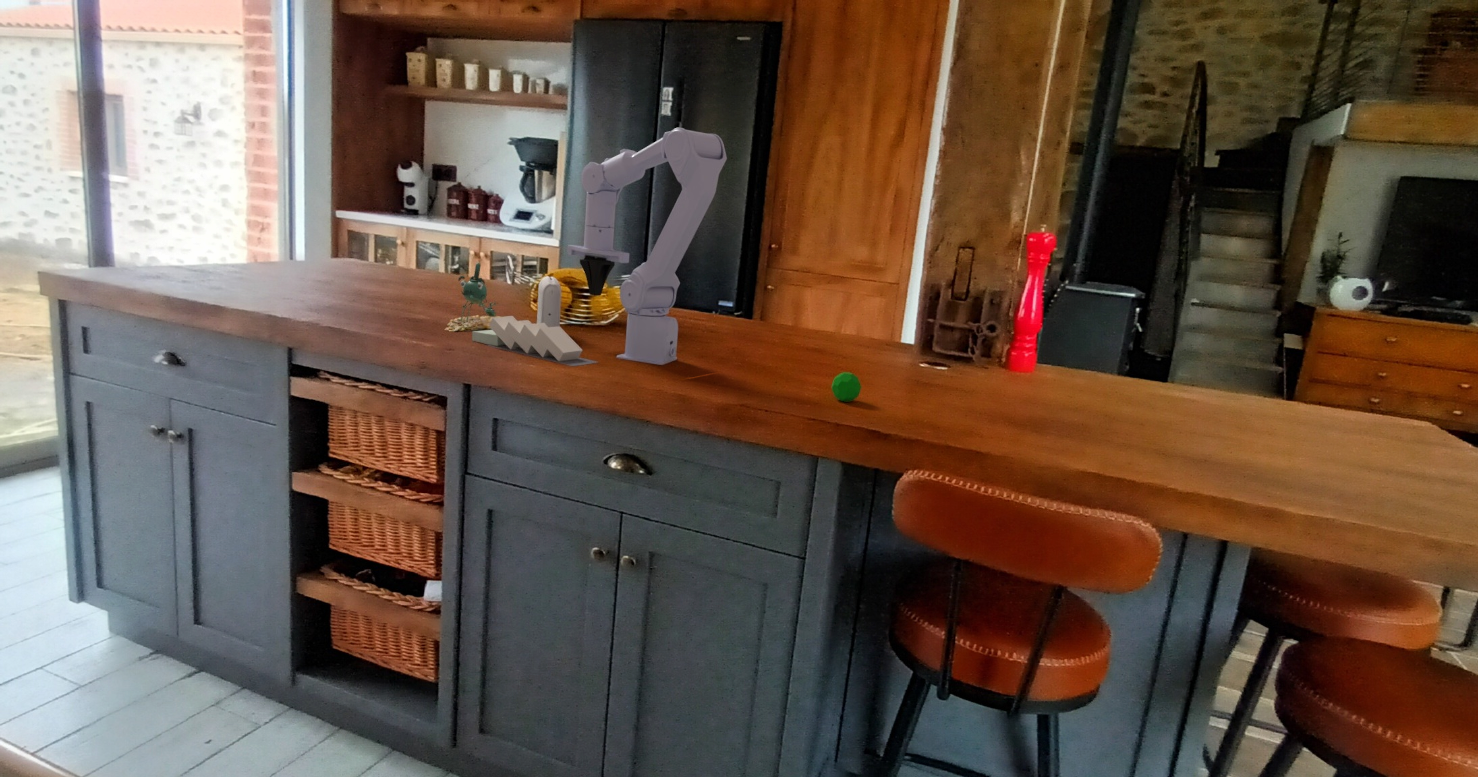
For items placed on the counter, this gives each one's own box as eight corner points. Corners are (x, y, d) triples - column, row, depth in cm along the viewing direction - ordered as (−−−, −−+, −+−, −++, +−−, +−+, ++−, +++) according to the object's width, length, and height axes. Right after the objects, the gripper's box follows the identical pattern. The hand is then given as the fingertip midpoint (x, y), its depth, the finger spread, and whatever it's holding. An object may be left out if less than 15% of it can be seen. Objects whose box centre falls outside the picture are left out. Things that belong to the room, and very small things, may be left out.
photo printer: (560, 340, 179) (563, 280, 177) (539, 339, 178) (542, 278, 175) (555, 331, 189) (558, 274, 186) (535, 330, 187) (537, 273, 185)
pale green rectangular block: (517, 333, 168) (492, 329, 172) (497, 335, 164) (472, 331, 168) (517, 343, 168) (492, 339, 172) (497, 345, 164) (472, 341, 168)
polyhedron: (836, 403, 146) (839, 375, 145) (825, 396, 150) (829, 369, 149) (863, 404, 147) (867, 377, 146) (852, 397, 152) (856, 370, 151)
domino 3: (566, 346, 162) (544, 322, 164) (547, 349, 157) (524, 324, 160) (562, 354, 162) (539, 331, 165) (542, 357, 158) (519, 332, 161)
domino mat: (599, 363, 159) (599, 362, 159) (572, 367, 153) (572, 366, 153) (514, 343, 170) (514, 342, 170) (486, 346, 164) (486, 345, 164)
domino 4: (582, 350, 159) (559, 326, 162) (563, 352, 155) (539, 328, 158) (578, 358, 160) (555, 334, 163) (558, 361, 156) (535, 336, 158)
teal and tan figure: (523, 327, 191) (522, 260, 186) (465, 345, 175) (462, 272, 171) (489, 320, 195) (487, 254, 190) (429, 337, 179) (425, 266, 175)
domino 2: (550, 342, 164) (528, 320, 166) (531, 345, 159) (508, 321, 162) (546, 351, 164) (524, 328, 167) (527, 353, 160) (504, 330, 163)
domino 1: (534, 339, 166) (512, 315, 168) (514, 341, 162) (492, 317, 164) (530, 346, 167) (508, 323, 169) (510, 349, 162) (488, 325, 165)
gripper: (640, 230, 172) (636, 299, 175) (586, 223, 179) (582, 289, 182) (617, 229, 166) (612, 300, 169) (561, 222, 173) (558, 290, 176)
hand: (595, 295), depth 175 cm, fingers closed
